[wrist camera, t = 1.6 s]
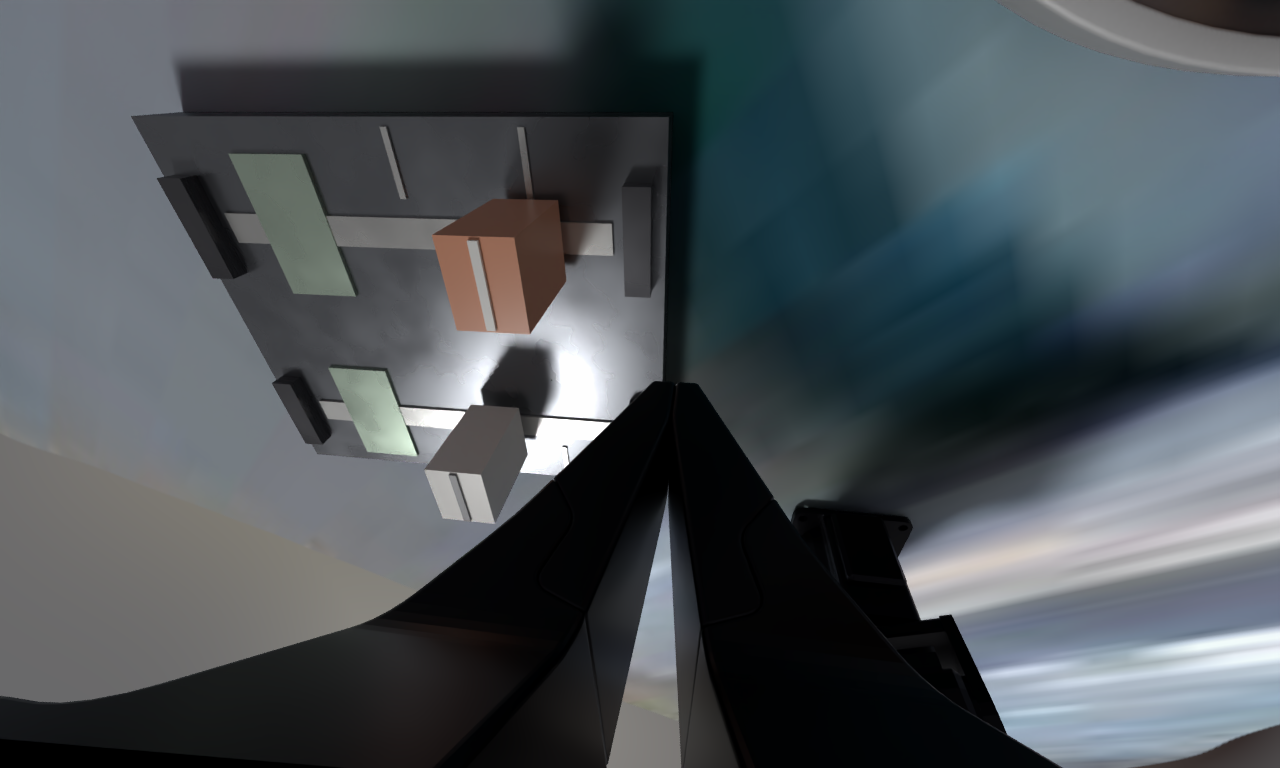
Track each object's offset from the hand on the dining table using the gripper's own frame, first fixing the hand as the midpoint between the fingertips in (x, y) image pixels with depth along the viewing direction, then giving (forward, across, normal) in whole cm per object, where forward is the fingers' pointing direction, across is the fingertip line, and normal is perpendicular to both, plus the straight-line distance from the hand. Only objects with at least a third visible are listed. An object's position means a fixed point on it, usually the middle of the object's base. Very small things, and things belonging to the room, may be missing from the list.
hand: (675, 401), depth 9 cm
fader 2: (+9, +9, +9) cm, 16 cm away
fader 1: (+9, +6, 0) cm, 11 cm away
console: (+12, +11, +4) cm, 17 cm away
